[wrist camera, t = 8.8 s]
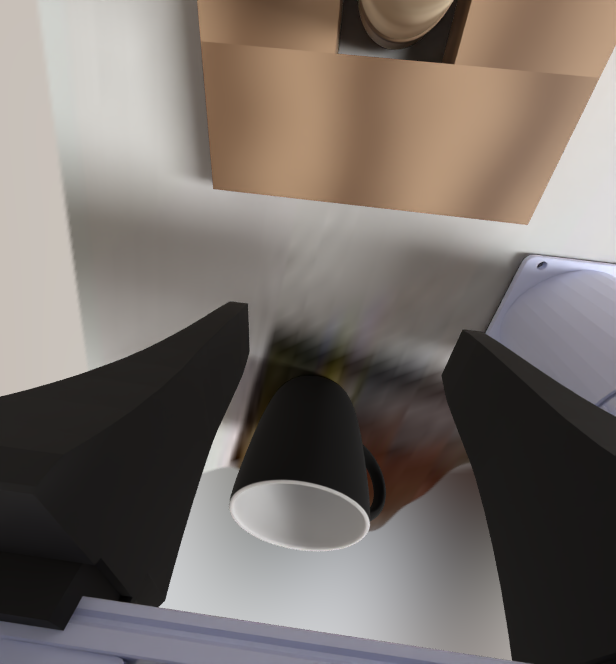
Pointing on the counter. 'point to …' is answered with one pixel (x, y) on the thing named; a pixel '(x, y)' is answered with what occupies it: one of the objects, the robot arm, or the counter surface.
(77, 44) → the counter surface
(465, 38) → the board
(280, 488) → the mug
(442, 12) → the peg
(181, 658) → the robot arm
